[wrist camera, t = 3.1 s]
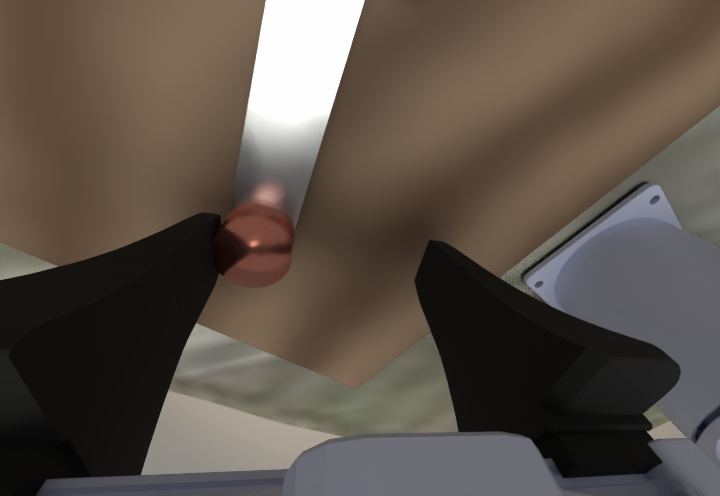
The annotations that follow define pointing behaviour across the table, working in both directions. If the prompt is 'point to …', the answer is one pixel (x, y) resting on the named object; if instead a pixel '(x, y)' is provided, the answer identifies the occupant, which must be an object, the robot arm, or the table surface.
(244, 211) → the lever
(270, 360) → the table surface
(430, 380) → the table surface
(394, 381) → the table surface
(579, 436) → the robot arm
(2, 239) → the board
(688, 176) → the table surface
